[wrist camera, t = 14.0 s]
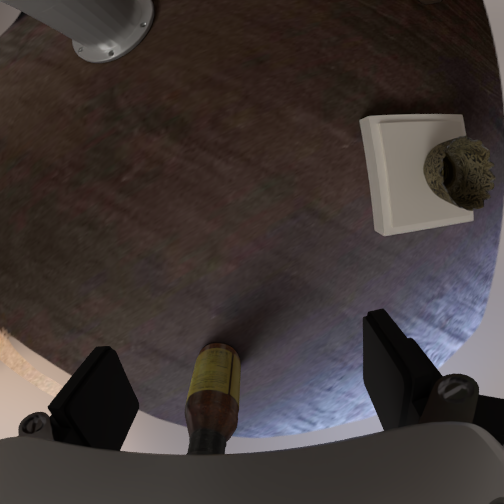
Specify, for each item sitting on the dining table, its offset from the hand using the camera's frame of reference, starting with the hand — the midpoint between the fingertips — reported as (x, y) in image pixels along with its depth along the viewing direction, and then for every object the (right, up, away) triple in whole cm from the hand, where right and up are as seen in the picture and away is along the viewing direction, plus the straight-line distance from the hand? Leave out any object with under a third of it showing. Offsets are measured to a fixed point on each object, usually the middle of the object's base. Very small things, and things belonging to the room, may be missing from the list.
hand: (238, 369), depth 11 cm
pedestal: (+22, +15, +25) cm, 36 cm away
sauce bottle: (-4, -11, +33) cm, 35 cm away
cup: (+22, +14, +21) cm, 33 cm away
